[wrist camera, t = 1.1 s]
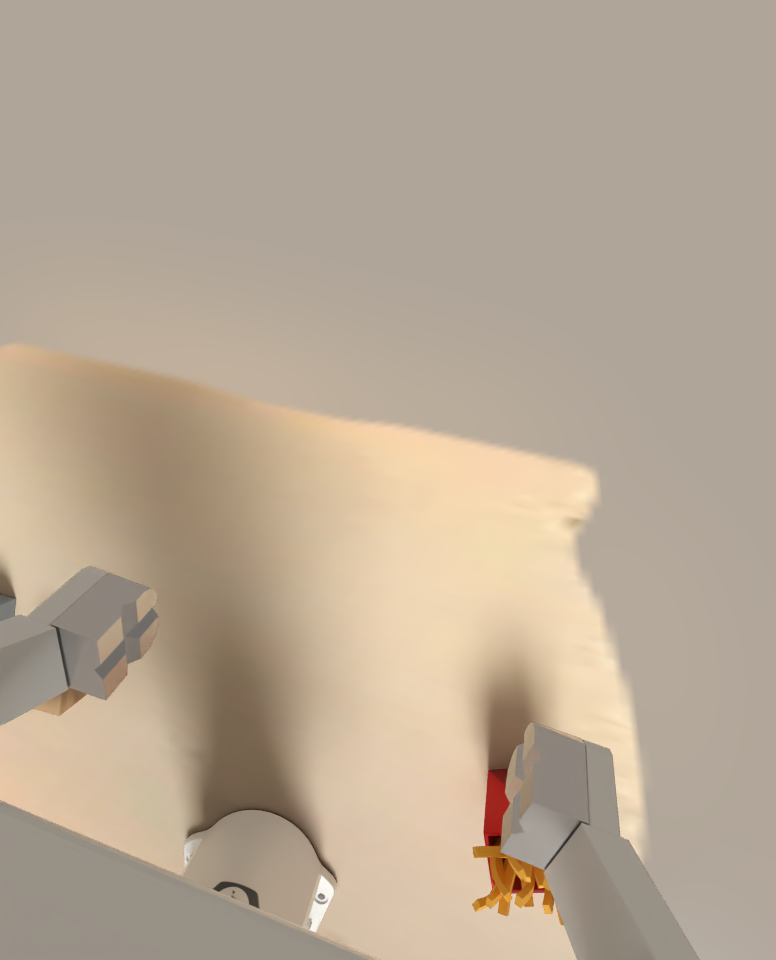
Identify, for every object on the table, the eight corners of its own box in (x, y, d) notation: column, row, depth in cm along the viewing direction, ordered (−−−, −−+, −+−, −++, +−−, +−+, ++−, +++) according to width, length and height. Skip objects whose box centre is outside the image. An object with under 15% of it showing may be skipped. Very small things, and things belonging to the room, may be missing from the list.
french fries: (548, 815, 60) (576, 949, 46) (473, 819, 62) (476, 950, 47) (538, 741, 59) (563, 853, 45) (461, 746, 61) (461, 857, 46)
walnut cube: (88, 692, 66) (59, 716, 61) (51, 681, 67) (18, 704, 62) (93, 654, 65) (63, 675, 61) (55, 644, 66) (22, 663, 61)
